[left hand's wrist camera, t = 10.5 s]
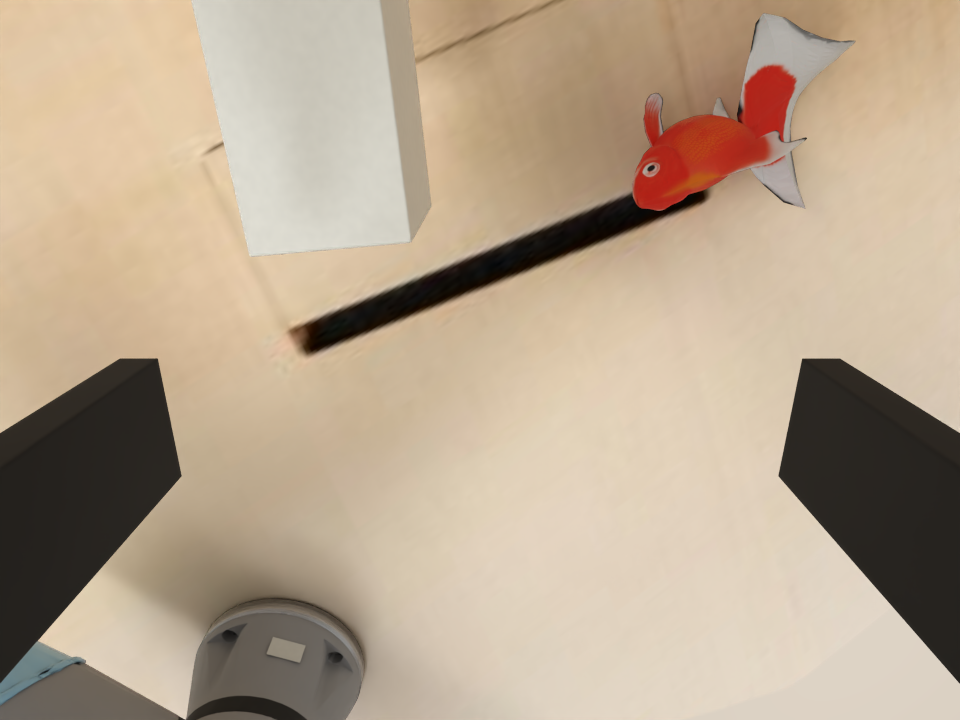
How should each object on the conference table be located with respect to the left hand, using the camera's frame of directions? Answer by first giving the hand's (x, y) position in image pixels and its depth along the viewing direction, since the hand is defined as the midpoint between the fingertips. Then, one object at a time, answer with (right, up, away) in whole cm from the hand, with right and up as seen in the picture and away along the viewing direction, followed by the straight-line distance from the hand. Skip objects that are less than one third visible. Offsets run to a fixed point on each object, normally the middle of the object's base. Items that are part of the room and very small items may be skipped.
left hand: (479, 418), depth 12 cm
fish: (+16, +17, +28) cm, 36 cm away
